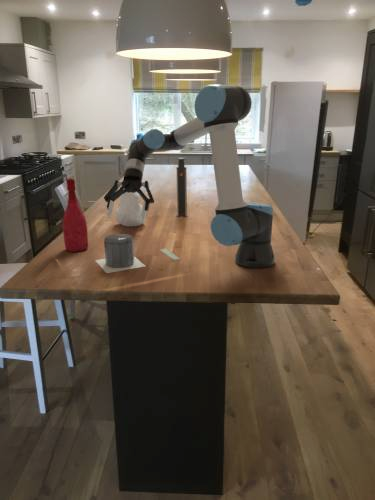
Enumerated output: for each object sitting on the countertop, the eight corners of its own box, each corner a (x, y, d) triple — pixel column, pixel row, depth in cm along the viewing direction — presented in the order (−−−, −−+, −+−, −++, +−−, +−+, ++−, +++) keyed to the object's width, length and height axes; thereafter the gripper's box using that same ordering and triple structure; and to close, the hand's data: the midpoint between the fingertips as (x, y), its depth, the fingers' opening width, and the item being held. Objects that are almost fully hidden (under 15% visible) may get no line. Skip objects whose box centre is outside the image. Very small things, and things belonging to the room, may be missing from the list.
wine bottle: (69, 245, 178) (62, 176, 169) (91, 245, 178) (85, 176, 168) (61, 252, 169) (54, 180, 159) (85, 252, 169) (79, 180, 159)
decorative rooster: (116, 221, 219) (113, 174, 211) (145, 220, 221) (144, 174, 213) (114, 233, 195) (111, 182, 187) (147, 232, 197) (145, 181, 189)
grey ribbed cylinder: (137, 265, 152) (136, 239, 149) (110, 269, 147) (109, 243, 144) (128, 256, 161) (127, 232, 157) (102, 261, 156) (101, 236, 153)
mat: (180, 260, 160) (180, 258, 160) (147, 265, 154) (146, 264, 154) (165, 250, 172) (165, 248, 172) (134, 255, 166) (134, 253, 166)
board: (145, 268, 151) (145, 266, 151) (106, 275, 145) (106, 273, 144) (132, 256, 164) (131, 254, 163) (95, 262, 157) (95, 260, 157)
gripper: (164, 178, 170) (158, 222, 161) (107, 177, 173) (98, 220, 164) (162, 167, 163) (155, 212, 154) (102, 166, 166) (92, 210, 157)
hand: (125, 216), depth 159 cm, fingers open, 13 cm apart
